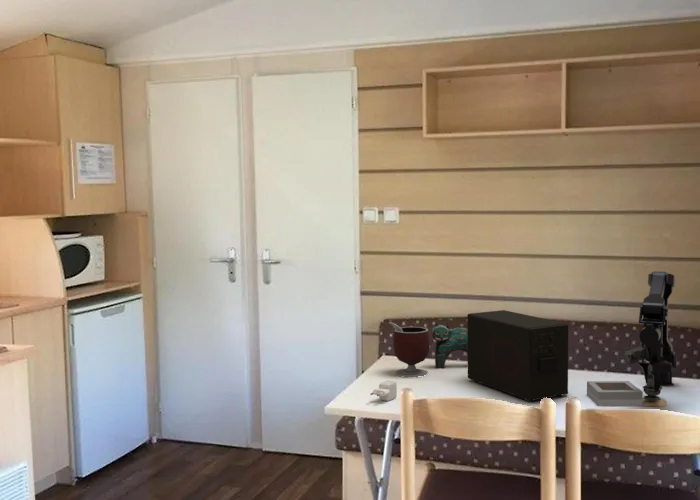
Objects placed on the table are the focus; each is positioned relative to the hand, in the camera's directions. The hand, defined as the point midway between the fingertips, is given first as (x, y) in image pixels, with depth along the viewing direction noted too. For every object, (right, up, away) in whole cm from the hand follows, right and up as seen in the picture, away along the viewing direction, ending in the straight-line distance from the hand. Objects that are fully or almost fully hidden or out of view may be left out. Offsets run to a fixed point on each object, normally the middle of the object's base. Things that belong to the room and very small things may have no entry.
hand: (652, 387), depth 248 cm
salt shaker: (0, -4, 0) cm, 4 cm away
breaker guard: (-11, -5, +5) cm, 13 cm away
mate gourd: (-75, -3, +45) cm, 88 cm away
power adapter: (-87, -6, +8) cm, 87 cm away
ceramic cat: (-56, -2, +56) cm, 79 cm away
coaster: (0, -5, 0) cm, 5 cm away
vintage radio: (-38, -4, +21) cm, 44 cm away
